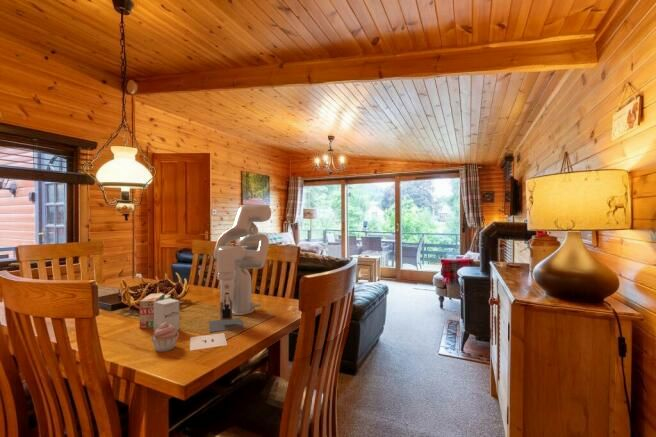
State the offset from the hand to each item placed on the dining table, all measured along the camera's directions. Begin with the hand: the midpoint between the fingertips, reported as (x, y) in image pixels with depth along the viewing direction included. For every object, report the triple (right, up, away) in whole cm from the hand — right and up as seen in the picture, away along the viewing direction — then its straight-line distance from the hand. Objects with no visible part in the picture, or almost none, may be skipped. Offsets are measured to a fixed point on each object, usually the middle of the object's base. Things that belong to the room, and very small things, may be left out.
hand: (225, 315), depth 141 cm
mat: (0, -4, 0) cm, 4 cm away
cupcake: (-15, -5, -24) cm, 29 cm away
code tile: (-1, -5, -17) cm, 18 cm away
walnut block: (0, -1, 0) cm, 1 cm away
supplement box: (-23, -5, -6) cm, 25 cm away
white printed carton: (-35, -5, +7) cm, 36 cm away
